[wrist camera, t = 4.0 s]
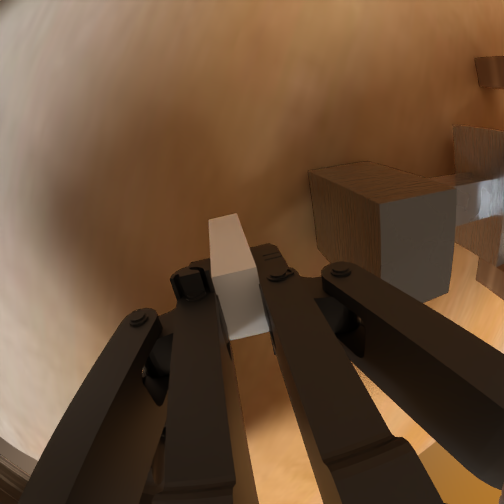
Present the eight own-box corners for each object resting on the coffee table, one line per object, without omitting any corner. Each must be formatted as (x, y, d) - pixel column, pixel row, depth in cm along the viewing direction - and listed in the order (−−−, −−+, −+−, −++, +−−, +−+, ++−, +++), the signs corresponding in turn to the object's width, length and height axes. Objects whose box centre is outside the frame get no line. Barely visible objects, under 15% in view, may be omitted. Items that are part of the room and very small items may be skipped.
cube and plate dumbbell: (320, 276, 20) (376, 352, 13) (302, 137, 16) (374, 147, 9) (457, 236, 21) (527, 278, 14) (456, 124, 17) (542, 138, 10)
